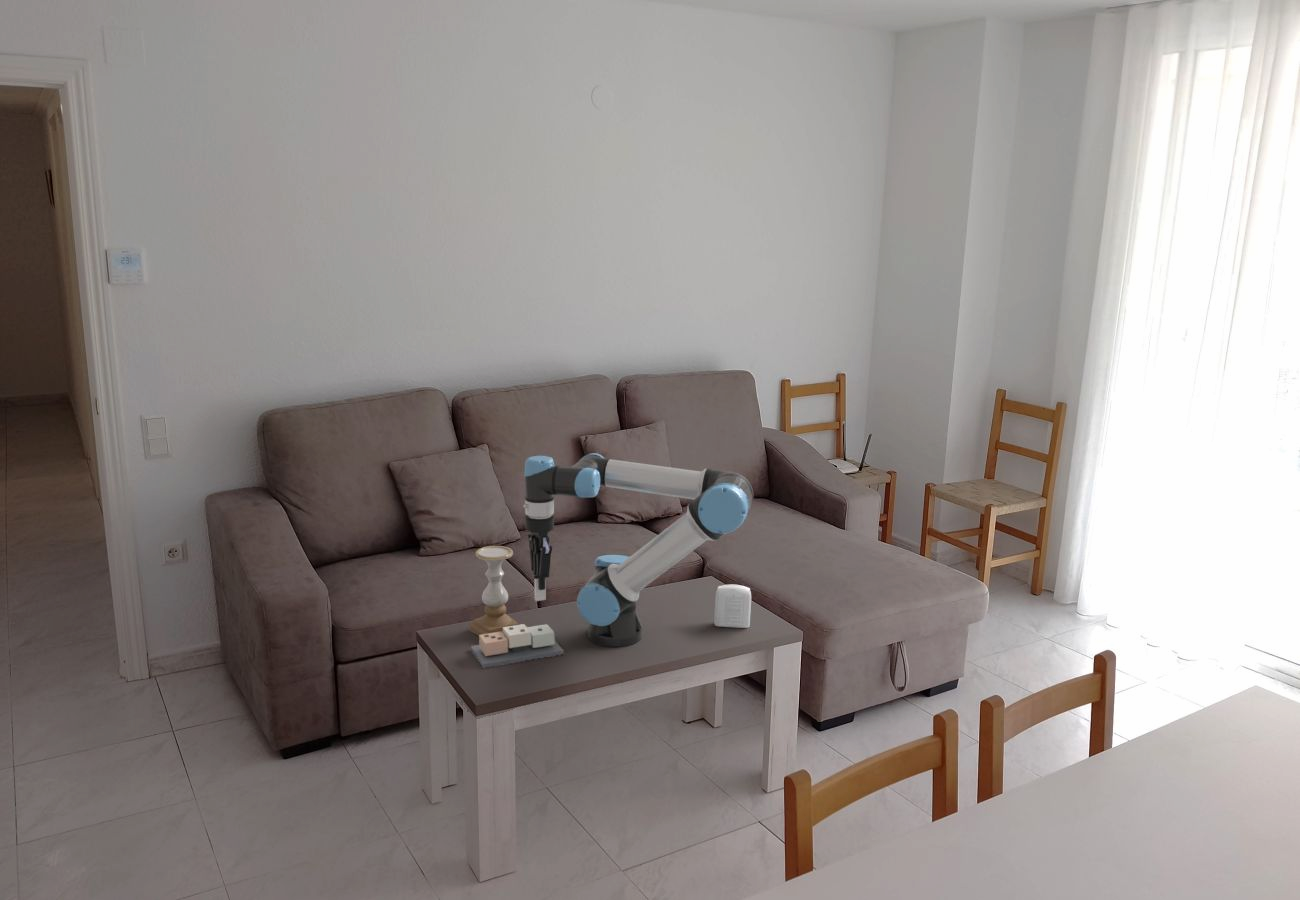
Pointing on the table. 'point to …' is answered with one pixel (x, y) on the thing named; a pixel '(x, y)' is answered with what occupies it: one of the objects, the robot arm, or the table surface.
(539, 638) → the one pip key
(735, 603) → the photo printer
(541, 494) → the robot arm
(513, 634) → the two pip key
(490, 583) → the candle holder
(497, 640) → the three pip key
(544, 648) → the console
